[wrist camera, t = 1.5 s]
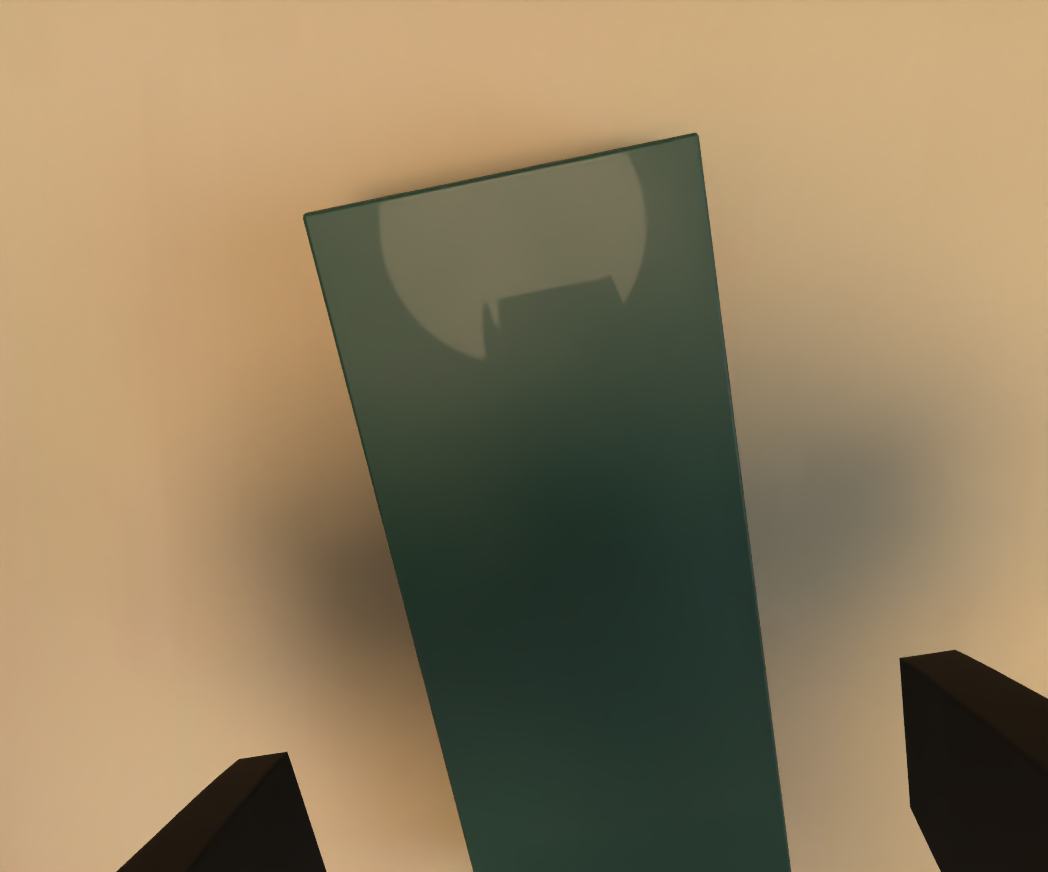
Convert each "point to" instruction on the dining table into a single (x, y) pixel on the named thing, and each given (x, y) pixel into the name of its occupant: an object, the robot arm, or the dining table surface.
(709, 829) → the book
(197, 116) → the dining table surface
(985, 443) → the dining table surface
